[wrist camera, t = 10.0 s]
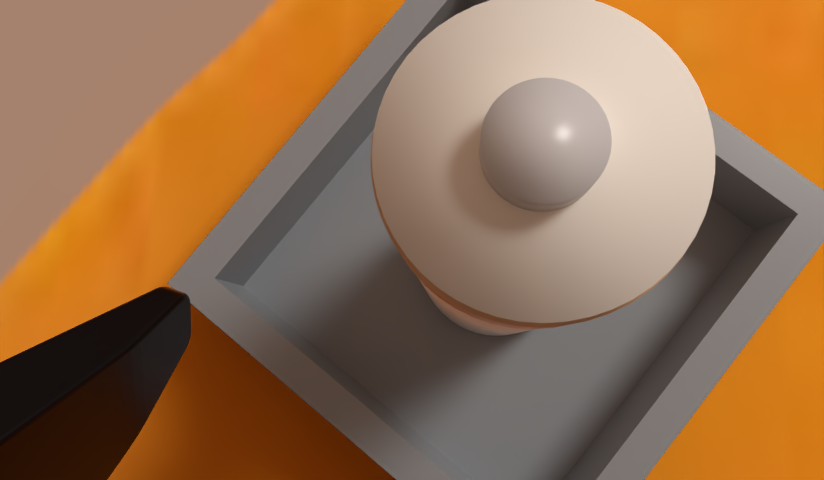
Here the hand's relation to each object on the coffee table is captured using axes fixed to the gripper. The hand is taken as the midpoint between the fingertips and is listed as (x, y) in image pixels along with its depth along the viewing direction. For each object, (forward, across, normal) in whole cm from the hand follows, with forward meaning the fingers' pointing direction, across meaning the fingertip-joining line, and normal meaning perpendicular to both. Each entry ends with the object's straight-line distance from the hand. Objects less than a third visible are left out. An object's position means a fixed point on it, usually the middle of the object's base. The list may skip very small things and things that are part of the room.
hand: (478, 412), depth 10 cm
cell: (+12, 0, +6) cm, 14 cm away
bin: (+12, 0, +7) cm, 14 cm away
